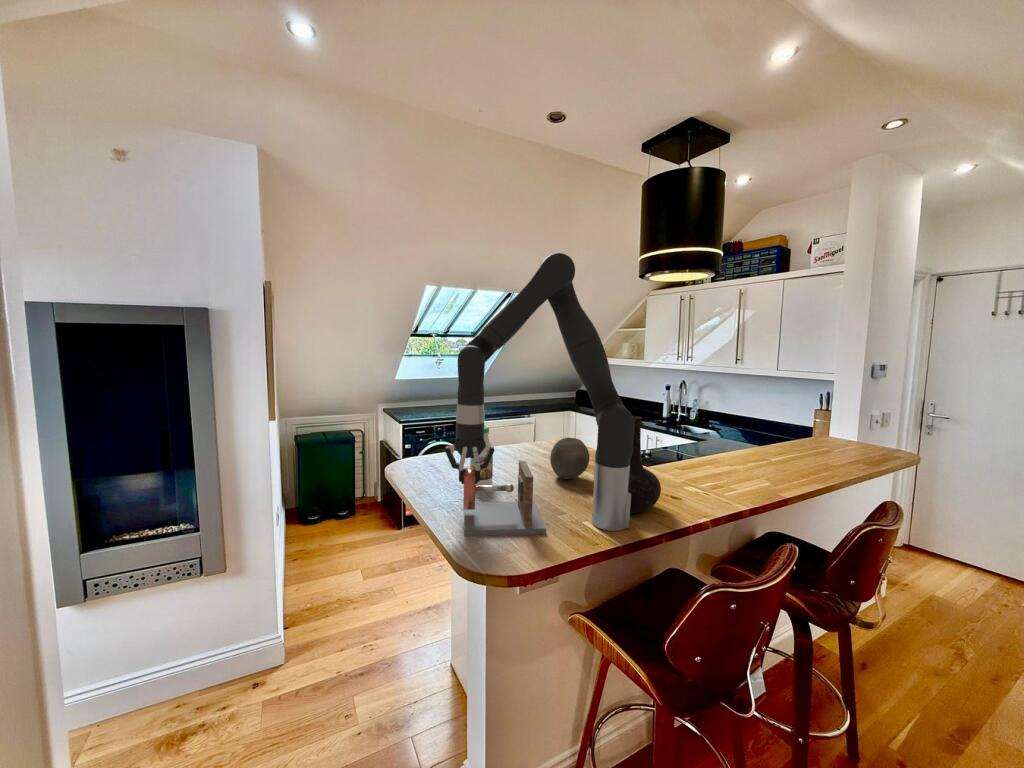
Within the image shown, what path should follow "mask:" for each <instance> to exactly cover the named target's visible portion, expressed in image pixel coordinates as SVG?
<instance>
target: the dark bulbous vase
mask: <svg viewBox="0 0 1024 768" xmlns="http://www.w3.org/2000/svg"><path fill="white" fill-rule="evenodd" d="M632 416H633V418H634V440H633V452H632V456H631V459H630V472H629V489H628V492H629V493H630V494H631V504H630V514H639V513H643V512H646V511H649V510H650V509H651V508H652V507H654V506H655V504H656V503H657V502H658V500H659V499H660V497H661V492H662V487H661V483H660V480H659V478H658V477H657V475H655V473H653V472H652V471H650V470H649V469H647V468H645V467H644V465H643V462H642V452H641V451H642V449H641V447H642V446H641V440H642V439H641V437H642V436H641V433H642V427H643V426H644V422H643V421H642V420H643V417H641V416H638V415H632Z"/></svg>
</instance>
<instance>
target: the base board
mask: <svg viewBox="0 0 1024 768" xmlns="http://www.w3.org/2000/svg"><path fill="white" fill-rule="evenodd" d="M463 511H464V513H463V515H464V523H463V525H464V526H463V529H464V531H463V535H464V537H471V536H472V537H473V536H475V537H476V536H477V537H478V536H512V535H513V536H517V535H518V536H519V535H520V536H521V535H547V526H546V525H545V522H544V519H543V517H542V515H541V512H540V510H539V507H538V505H537V503H536V501H535V500H533V502H532V525H524V524H523V520H522V517H521V514H520V510H519V507H518V501H475V510H463Z"/></svg>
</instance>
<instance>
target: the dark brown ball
mask: <svg viewBox="0 0 1024 768" xmlns="http://www.w3.org/2000/svg"><path fill="white" fill-rule="evenodd" d="M549 457H550V465H551V468H552V470H553V472H554V473H555V474H554V475H556V476H557V477H559V478H560V479H563V480H572V479H576V478H577V477H580V476H581V475H582V474H583V473H585V472H586V470H587V469H588V467H589V463H590V459H591V458H590V452H589V449H588V447H587V446H586V444H585V443H584V442H583V441H582V440H581V439H579V438H577V437H576V438H575V437H564V438H561V439H559V440H558V441H557V442H556V443H555V444H554V445H553V447H552V449H551V452H550V456H549Z"/></svg>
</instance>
